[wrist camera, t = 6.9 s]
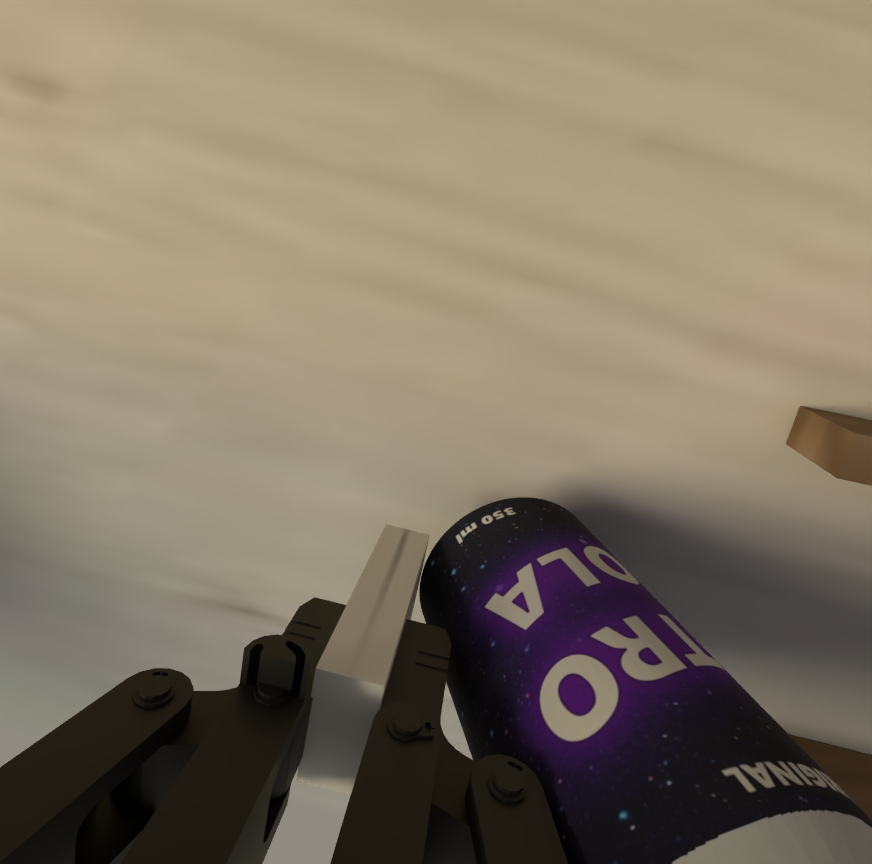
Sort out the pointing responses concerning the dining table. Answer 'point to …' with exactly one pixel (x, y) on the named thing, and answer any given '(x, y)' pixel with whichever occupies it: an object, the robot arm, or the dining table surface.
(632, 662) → the beverage can
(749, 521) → the dining table surface
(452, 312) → the dining table surface
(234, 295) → the dining table surface
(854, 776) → the corral
